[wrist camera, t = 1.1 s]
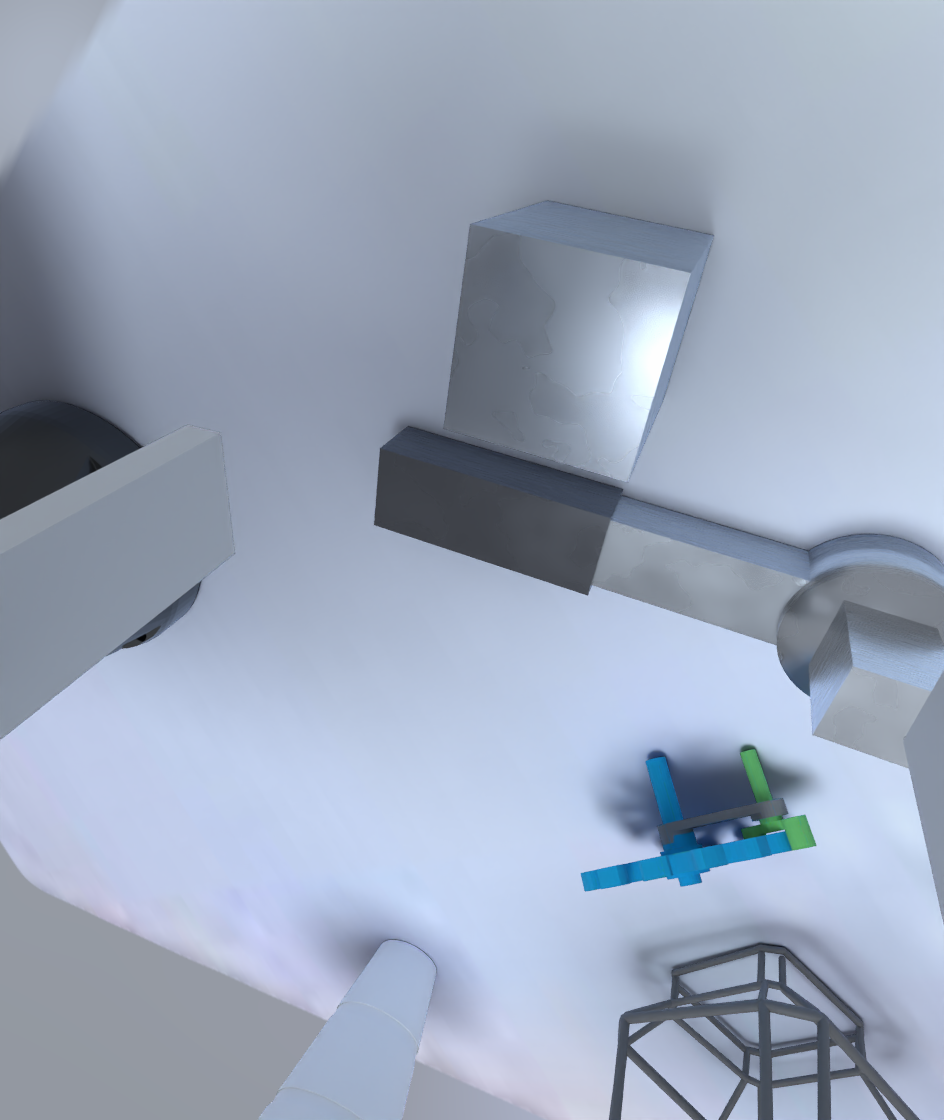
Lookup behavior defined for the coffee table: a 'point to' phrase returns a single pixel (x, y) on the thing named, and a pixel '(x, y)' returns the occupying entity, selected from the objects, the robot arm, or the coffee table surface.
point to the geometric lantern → (764, 1007)
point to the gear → (678, 834)
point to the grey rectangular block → (570, 332)
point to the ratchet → (695, 576)
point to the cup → (364, 1045)
